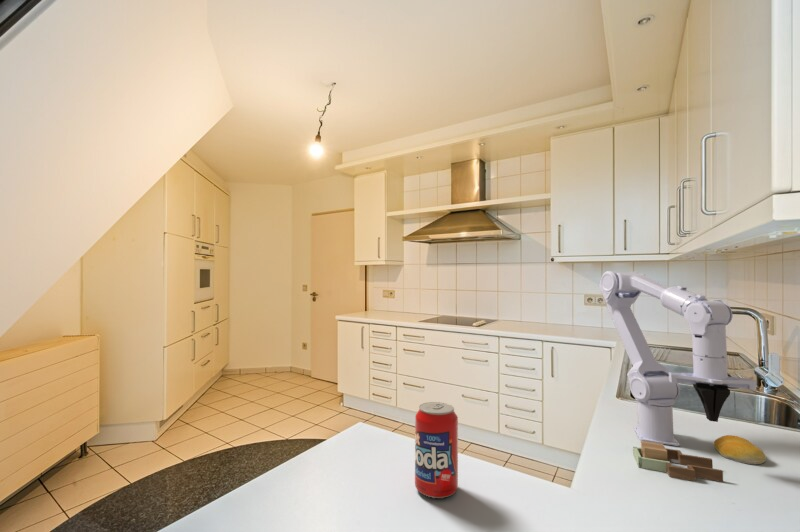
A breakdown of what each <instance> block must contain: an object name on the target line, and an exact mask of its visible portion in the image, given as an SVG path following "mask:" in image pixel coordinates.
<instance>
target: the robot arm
mask: <svg viewBox="0 0 800 532" xmlns="http://www.w3.org/2000/svg"><path fill="white" fill-rule="evenodd" d="M598 287H599V290H600V292H601V294H602V296H603V298H604V301H605V304H606V308H607V311H608V313H609V315H610V317H611V320H612V321H613V324H614V326H615V329H616V331H617V334H618V336H619V338H620V341H621V342H622V345H623V347H624V349H625V352H626V354H627V356H628V358H629V362H630V363H631V365H632V366H631V367H630V370H629V371H627V374H626V376H627V379H628V381H629V389H630V393H631V394H632V396H633V397H634V399H635V401H637V426H636V425H635V426H633V429H634V431H635V432H636V435H637V438H638V439H639V440H640V442H641V441H646V442H653V443H659V444H663V445H669V446H675V447H680V443H679V441H678V440H677V439H676V438H675V435H674V413H673V405H676V402H675V400H677V399H678V398H679V397H680V394H681V386H680V384H688V385H692V386H693V388H694V390H695V392H696V393H697V395H698V397H699V400H700V401H701V404H702V406H703V409H704V413H705V416H706V418H705V419H707V420H708V421H709V422H716V423H718V422H719V417H720V413H721V411H722V408H723V406H724V404H725V402H726V401H727V399H728V398H729V397H730V396H731V395H730V394H731V390H730V389H729V388H731V389H732V388H733V389H744V390H749V391H757V381H756V380H754V379H753V378H743V377H735V376H729V375H728V372H729V371H728V354H727V353H728V351H727V350H728V349H727V347H728V346H727V329H726V326H727V325H729V324H730V323H731V321H732V319H733V315H734V314H733V311H732V308H731V307H730V305H728V304H727V303H726V302H724V301H723V300H722V299H711V300H709V299H707V298H706V295H704V294H702V293H701V294H696V293H694V292H692V291H689V290H687V289H688V287H687V286H684V285H677V286H676V285H674V286H670V287H668V286H667V285H664V284H662V283H660V282H659V281H656V280H654V279H653V278H651V277H648V276H646V274H645V273H641V272H639V271H611V270H607V271H605V272H604V273H602V275H601V278H600V281H599V285H598ZM641 293H644V294H647V295H648V296H651V297H653V298H656V299H658V300H660V302H661V303H660V304H661V305H662V307H664V308H666V309H667V310H670V311H672V312H673V313H676V314H678V315H679V316H681V317H683V318H684V319H685V321H686V323H687V324H688V326H689V332H690V334H691V338H692V339H691V345H692V347H691V348H692V365H693V366H692V367H693V368H692V371H693V372H672V371H671V372H670V370H669V368H668V367H666V366H665V365H663V364H661V363H659V362H658V361H656V359H655V356H654V354H653V352H652V350H651V348H650V346H649V343H648V341H647V339H646V338H645V336H644V333H643V332H642V330H641V327H640V325H639V323H638V321H637V319H636V316H635V315H634V313H633V311H632V308H631V307H632V305H633V304H635V302H636V301H637V299H638V298H639V296H640V295H641ZM679 383H680V384H679Z"/></svg>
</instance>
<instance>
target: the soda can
mask: <svg viewBox="0 0 800 532" xmlns="http://www.w3.org/2000/svg"><path fill="white" fill-rule="evenodd" d="M414 417H415V421H414V423H415V424H414V425H415V426H414V427H415V430H414V433H415V434H414V435H415V436H414V440H415V441H414V445H415V446H414V484H415V485H414V486H415V488H416V490H417V491H418V492H419V493H420V494H422V495H424V496H425V495H426V497H427V496H428V498H430V497H432V498H431V499H435V498H441V499H445V498H444V497H446V498H448V497H450V496H451V497H452V495H454V494H455V493H456V492H457V490H458V486H459V479H458V478H459V451H458V450H459V419H458V418H459V417H458V415H457V413H456V411H455V407H454V406H453V405H452V404H449V403H445V402H440V401H429V402H424V403H422V404H419V407H418V411H416V414H415V416H414Z"/></svg>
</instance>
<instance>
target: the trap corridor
mask: <svg viewBox="0 0 800 532" xmlns="http://www.w3.org/2000/svg"><path fill="white" fill-rule="evenodd" d="M632 449H633V450H632V451H633V458H634V460H635V462H636V466H637V467H638V469H639V468H640V469H644V470H652V471H658V472H663V473H667V475H668V477H670V478H674V479H681V480H687V481H692V482H696V481H697V480H696V478H697V479H704V480H709V481H714V482H715V481H716V482H722V483H723V482H724V473H723V472H724V471H723V470H722V469H717V468H713V466H714V465H713V459H712V458H711V457H703V456H697V455H691V454H685V453H682V451H681V450H678V449H673V448H666V447H665V449H666V450H667V460H668V461H663V460H657V459H650V458H644V457H641V447H638V446H633V448H632ZM672 464H676V466H675V465H672ZM677 465H682V466H687V467H681V466H677Z"/></svg>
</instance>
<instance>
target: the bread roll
mask: <svg viewBox="0 0 800 532" xmlns="http://www.w3.org/2000/svg"><path fill="white" fill-rule="evenodd" d="M713 446H714V448H715V450H716V451H717V452H718V453H719V454H720V455H721V456H722V457H723V458H725V459H728V460H731V461H735V462H739V463H742V464H747V465H761V464H764V463H765V462H766V459H767V457H766V453H764V451H763V450H762V449H761V448H758V447H757V446H756V445H754V443H752V442H751V441H749V440H748V439H746V438H744V437H741V436H738V435H732V434H731V435H729V434H728V435H723V436H720V437H718V438H716V439H715V440H714V442H713Z"/></svg>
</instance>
